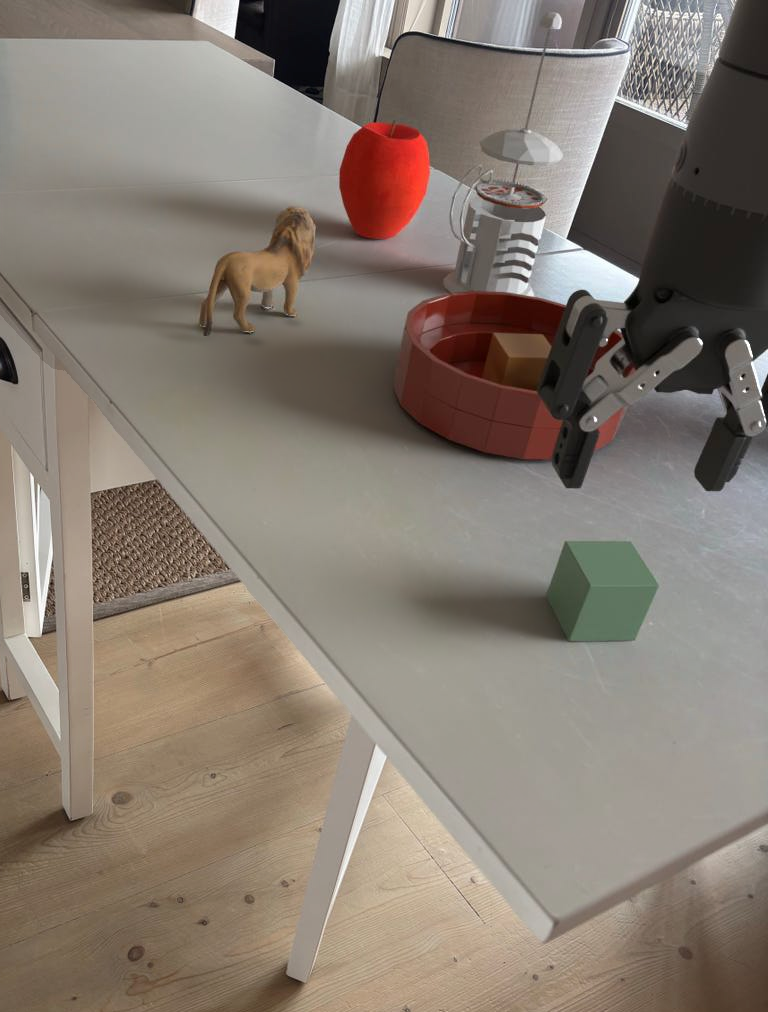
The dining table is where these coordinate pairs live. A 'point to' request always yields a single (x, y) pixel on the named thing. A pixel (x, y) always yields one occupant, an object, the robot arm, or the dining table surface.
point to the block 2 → (601, 590)
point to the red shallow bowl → (459, 369)
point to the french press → (504, 210)
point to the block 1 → (516, 359)
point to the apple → (384, 178)
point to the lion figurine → (264, 269)
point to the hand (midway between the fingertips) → (637, 482)
